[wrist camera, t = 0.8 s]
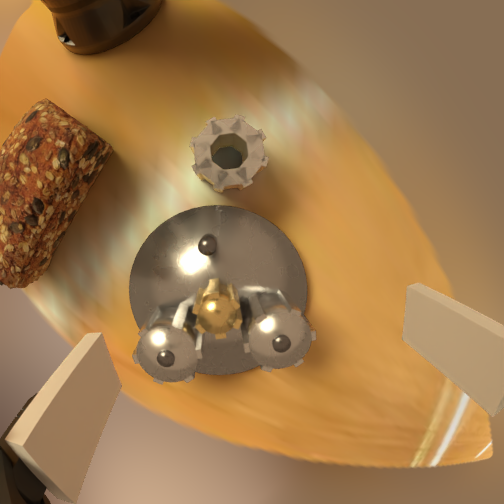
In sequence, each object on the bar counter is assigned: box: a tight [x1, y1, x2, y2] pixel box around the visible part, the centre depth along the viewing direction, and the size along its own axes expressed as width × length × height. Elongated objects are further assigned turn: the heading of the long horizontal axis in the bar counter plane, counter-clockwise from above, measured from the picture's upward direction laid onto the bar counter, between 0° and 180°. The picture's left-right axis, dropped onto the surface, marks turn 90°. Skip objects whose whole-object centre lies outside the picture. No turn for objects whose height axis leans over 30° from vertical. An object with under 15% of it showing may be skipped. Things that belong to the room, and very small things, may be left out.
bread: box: [0, 99, 113, 289], centre depth 22 cm, size 19×11×10 cm, turn 142°
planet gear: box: [189, 114, 269, 193], centre depth 26 cm, size 7×7×6 cm
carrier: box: [129, 205, 316, 384], centre depth 28 cm, size 20×20×8 cm
